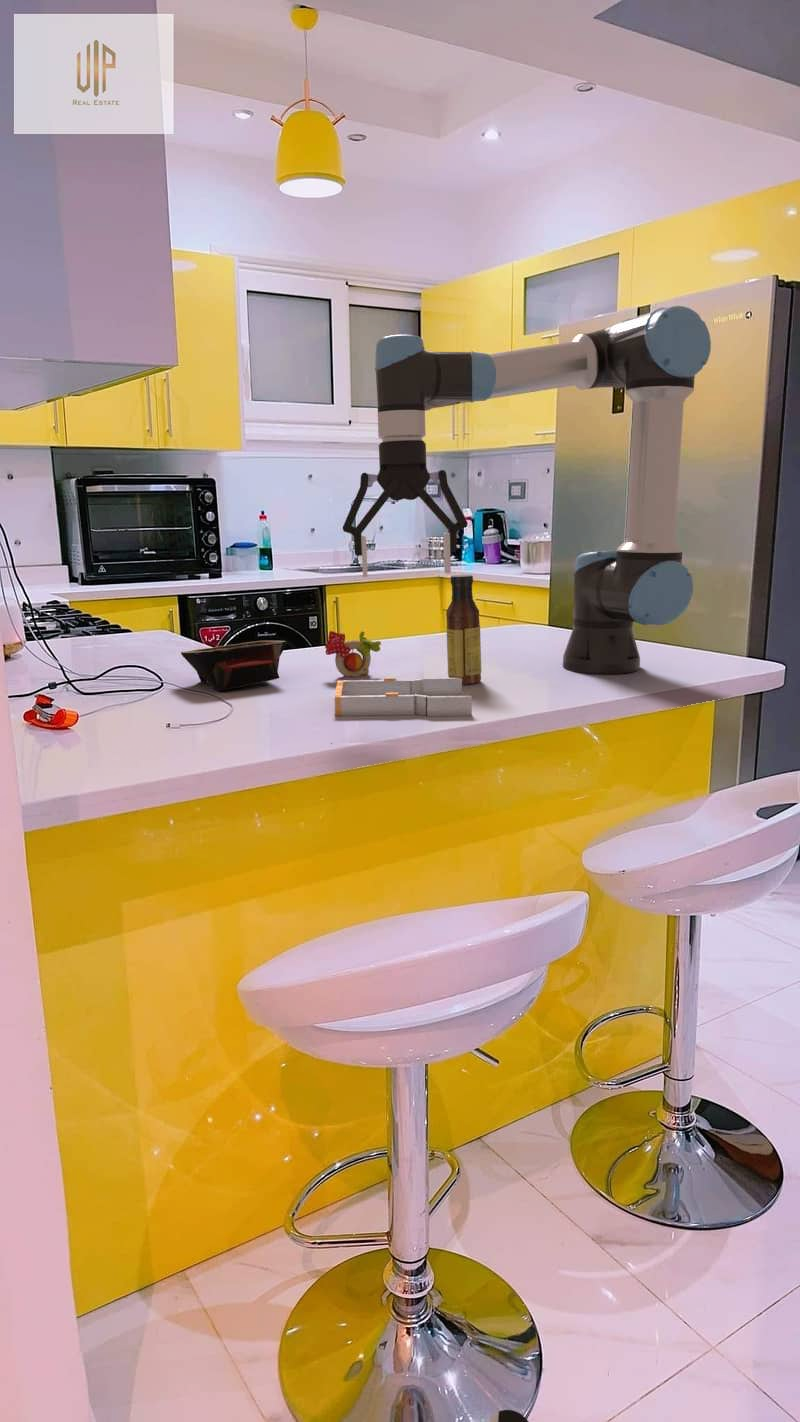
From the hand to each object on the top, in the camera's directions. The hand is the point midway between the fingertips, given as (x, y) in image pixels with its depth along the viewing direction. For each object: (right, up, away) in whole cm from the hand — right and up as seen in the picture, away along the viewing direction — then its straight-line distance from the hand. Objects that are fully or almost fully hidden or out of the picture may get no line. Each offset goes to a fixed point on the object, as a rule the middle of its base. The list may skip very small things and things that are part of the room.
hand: (406, 574), depth 151 cm
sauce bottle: (+11, -17, +20) cm, 28 cm away
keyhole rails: (0, -21, +1) cm, 21 cm away
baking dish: (-30, -18, +20) cm, 40 cm away
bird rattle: (-10, -16, +25) cm, 32 cm away
